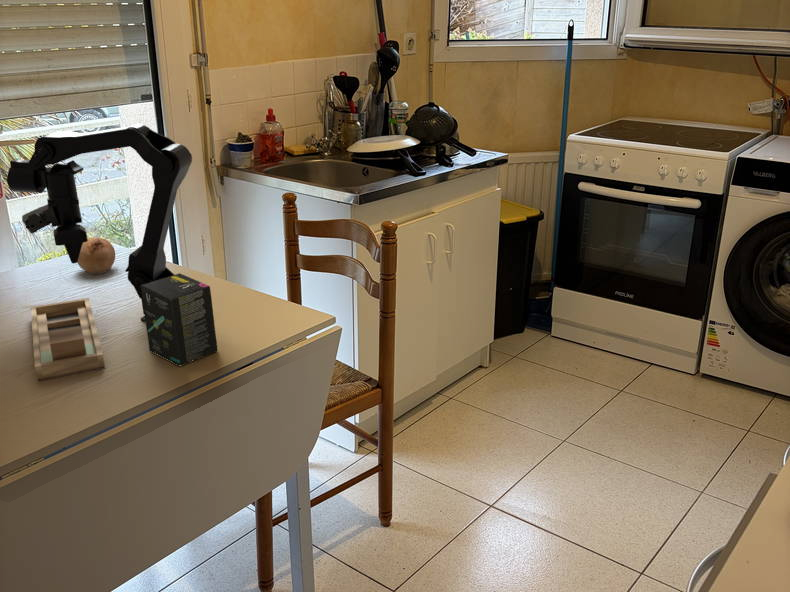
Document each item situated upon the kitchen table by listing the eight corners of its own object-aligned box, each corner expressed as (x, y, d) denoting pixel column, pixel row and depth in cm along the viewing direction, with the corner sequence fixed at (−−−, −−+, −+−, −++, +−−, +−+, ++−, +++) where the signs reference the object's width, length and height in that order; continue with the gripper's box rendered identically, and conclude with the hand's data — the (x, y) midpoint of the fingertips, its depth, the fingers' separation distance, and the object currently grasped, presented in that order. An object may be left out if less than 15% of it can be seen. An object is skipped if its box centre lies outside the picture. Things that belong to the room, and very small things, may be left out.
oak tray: (105, 368, 151) (102, 354, 150) (37, 380, 146) (35, 366, 145) (90, 310, 176) (88, 297, 175) (33, 319, 171) (30, 306, 170)
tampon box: (218, 352, 157) (212, 285, 151) (179, 368, 151) (171, 299, 145) (187, 335, 164) (179, 271, 158) (148, 350, 158) (139, 284, 152)
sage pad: (98, 364, 151) (97, 359, 151) (43, 375, 147) (41, 369, 147) (94, 347, 158) (93, 342, 157) (41, 357, 154) (40, 352, 154)
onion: (107, 286, 197) (107, 258, 190) (70, 276, 196) (68, 248, 189) (120, 261, 204) (121, 233, 197) (84, 252, 202) (83, 223, 195)
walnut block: (87, 359, 151) (83, 338, 149) (54, 365, 148) (49, 344, 147) (84, 346, 156) (81, 326, 154) (52, 352, 154) (48, 331, 152)
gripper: (19, 186, 168) (33, 254, 174) (21, 209, 153) (35, 283, 159) (74, 181, 173) (85, 247, 179) (81, 203, 157) (93, 275, 163)
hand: (74, 262), depth 170 cm, fingers closed
